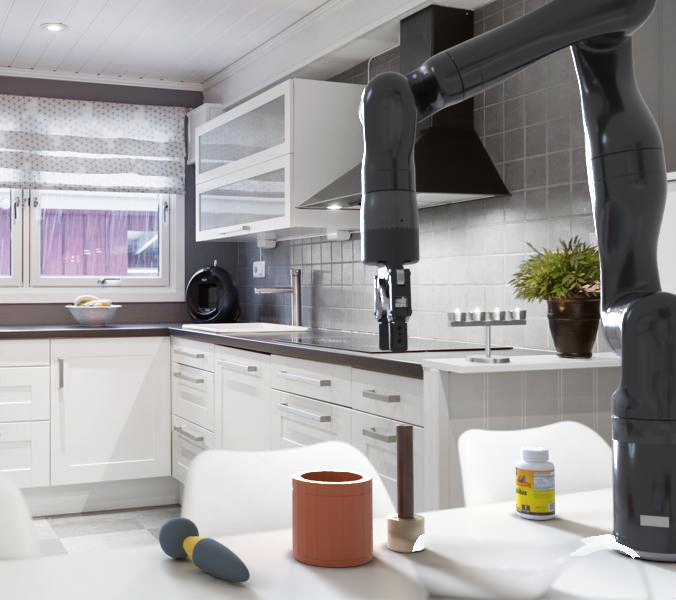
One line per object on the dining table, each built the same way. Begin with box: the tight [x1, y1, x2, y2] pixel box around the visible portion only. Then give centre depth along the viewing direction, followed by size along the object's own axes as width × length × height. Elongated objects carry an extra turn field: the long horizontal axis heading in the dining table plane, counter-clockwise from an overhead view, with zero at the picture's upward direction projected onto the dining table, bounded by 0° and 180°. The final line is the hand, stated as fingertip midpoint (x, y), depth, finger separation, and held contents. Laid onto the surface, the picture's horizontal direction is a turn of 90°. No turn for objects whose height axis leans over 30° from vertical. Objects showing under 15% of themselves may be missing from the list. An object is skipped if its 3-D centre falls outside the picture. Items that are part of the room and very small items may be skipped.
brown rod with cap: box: [386, 423, 426, 554], centre depth 108 cm, size 5×5×16 cm
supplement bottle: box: [515, 446, 556, 521], centre depth 126 cm, size 6×6×10 cm
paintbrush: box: [158, 516, 251, 584], centre depth 100 cm, size 20×5×5 cm, turn 38°
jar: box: [291, 469, 374, 568], centre depth 105 cm, size 10×10×10 cm
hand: (392, 351), depth 109 cm, fingers open, 8 cm apart
